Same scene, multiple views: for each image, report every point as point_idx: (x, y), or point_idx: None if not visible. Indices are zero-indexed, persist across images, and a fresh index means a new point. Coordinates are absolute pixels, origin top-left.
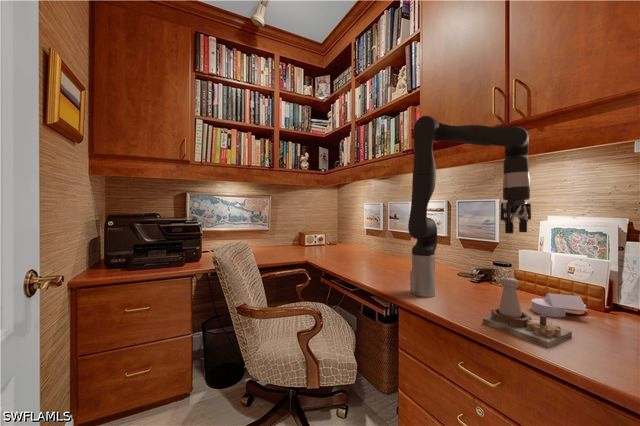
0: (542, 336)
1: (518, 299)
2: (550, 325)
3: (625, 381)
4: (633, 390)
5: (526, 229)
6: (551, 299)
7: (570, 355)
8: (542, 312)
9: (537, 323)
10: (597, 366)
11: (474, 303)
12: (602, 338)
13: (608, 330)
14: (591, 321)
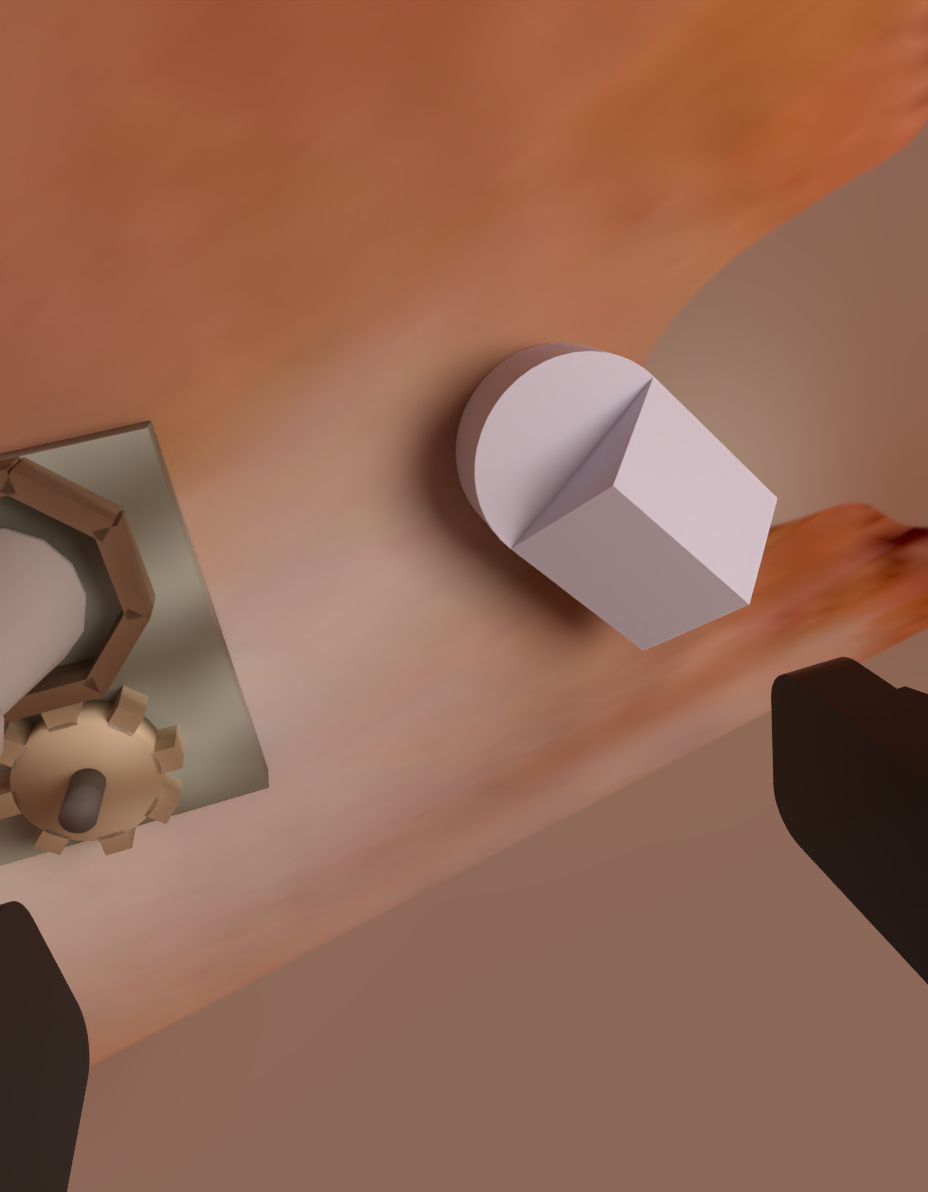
0: (8, 818)
1: (19, 699)
2: (125, 798)
3: None
4: None
5: (845, 874)
6: (569, 519)
7: (32, 913)
8: (461, 482)
9: (62, 766)
10: None
11: (85, 49)
12: (414, 799)
13: (565, 735)
14: None
